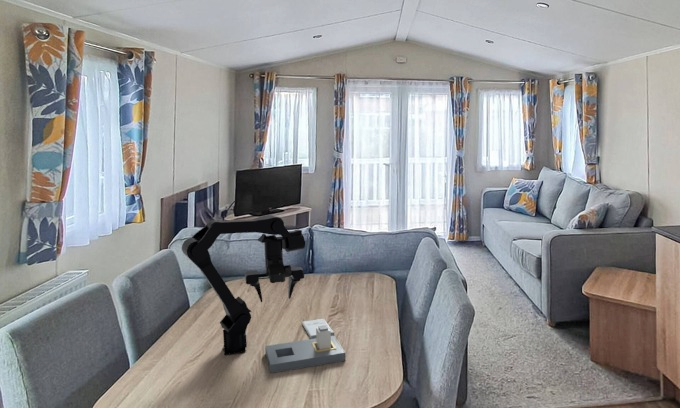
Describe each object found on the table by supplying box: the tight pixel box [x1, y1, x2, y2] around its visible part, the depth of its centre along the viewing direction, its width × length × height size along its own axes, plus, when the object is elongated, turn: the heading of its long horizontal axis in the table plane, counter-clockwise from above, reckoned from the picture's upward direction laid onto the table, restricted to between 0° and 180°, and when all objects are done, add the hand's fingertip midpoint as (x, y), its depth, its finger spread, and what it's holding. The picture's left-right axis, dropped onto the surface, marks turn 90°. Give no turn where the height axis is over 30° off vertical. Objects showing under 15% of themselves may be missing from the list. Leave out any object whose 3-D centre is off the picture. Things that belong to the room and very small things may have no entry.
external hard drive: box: [301, 318, 335, 339], centre depth 148 cm, size 2×8×12 cm
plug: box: [316, 325, 331, 350], centre depth 130 cm, size 4×4×9 cm
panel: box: [264, 335, 346, 374], centre depth 129 cm, size 22×12×3 cm, turn 107°
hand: (275, 300), depth 140 cm, fingers open, 9 cm apart
